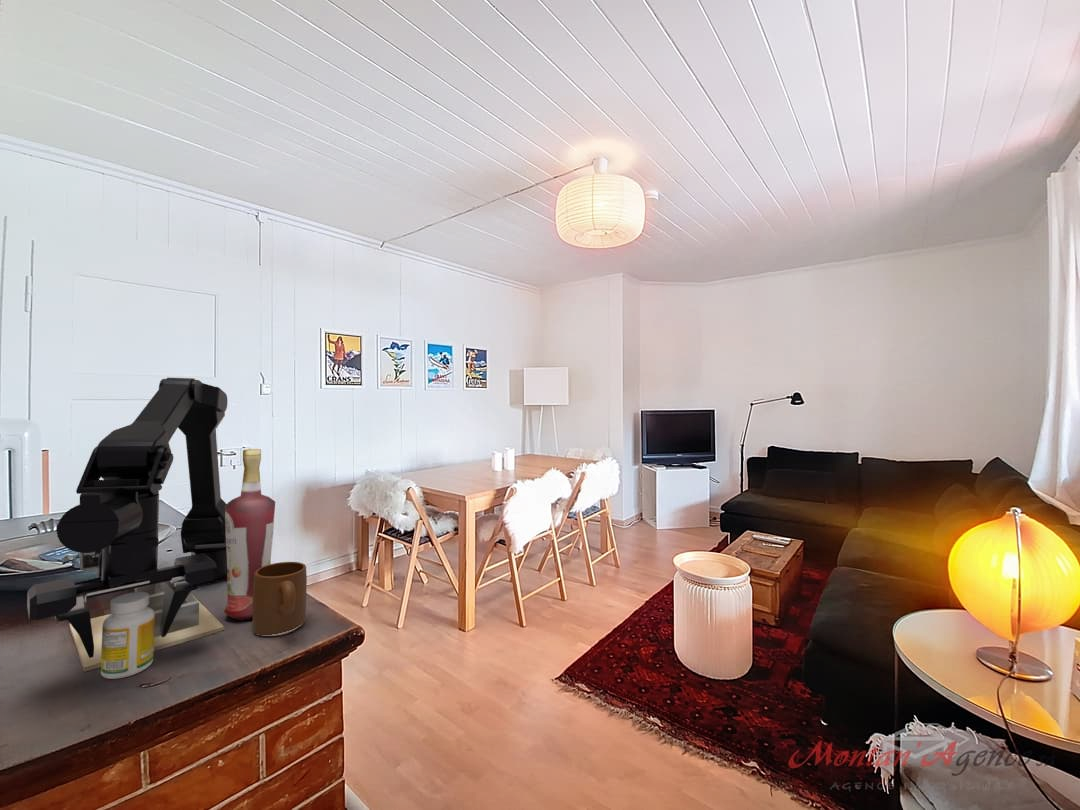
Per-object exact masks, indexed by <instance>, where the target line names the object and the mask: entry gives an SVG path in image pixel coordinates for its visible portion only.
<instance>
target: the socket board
mask: <svg viewBox="0 0 1080 810" xmlns="http://www.w3.org/2000/svg"><path fill="white" fill-rule="evenodd" d="M147 579H149V578H147ZM142 580H144V579H142ZM137 581H139V580H137ZM133 589H134V592H146V593H148V594H149V604H148V606H147V607H149V608H151V609H153V611H154V613H155V623H154V650H153V652H156V651H159V650H163V649H166V648H169V647H173V646H176V645H180V644H183V643H187V642H190V641H193V640H197V639H201V638H202V637H203V636H204V637H207V636H210V635H213V633H214V634H217V633H220V632H223V631H222V630H225V626H224V625H223V624H222V623H221V622H220V621H219V620H218V619H217V618H216V617H215V616H214V615H213V614H212V613H211V612H210V611H209V610H208V609H207V608H206V607H205V606H204V605H203V604H202V602H200V600H198V599H197V597H195V596H194V595H193V594H191V592H190V593H189V595H188V596H187V598H186V599H185V601H184V602H183V604H182V606H181V607H180V609H179V611H178V612H177V614H176V616H175V618H174V620H173V622H172V625H171V627H170V629H169V631H168V633H167V635H166V636H165V637H161V633H160V623H161V616H162V609H163V601H164V591H163V592H157V593H156V584H152V585H147V586H142V587H138V588H133ZM134 592H133V593H134ZM110 614H111V613H110ZM110 614H109V613H108V614H106V615H101V616H97V617H93V618H90V619H91V627H92V634H93V641H94V656H93V657H92V658H89V656H88V654H87V652H86V650H85V647H84V645H83V643H82V641H81V638H80V636H79V634H78V633H77V632H76V630H75V629H74V628H73V626H72V625H71V624H70V623H69V630H70V634H71V637H72V639H73V642H74V645H75V648H76V651H77V654H78V657H79V660H80V663H81V666H82V669H83V672H84V673H85V672H89V671H92V670H94V669H100V668H101V654H102V626H103V622H104V620H105V619H106V618H107V617H108V616H109V615H110ZM219 631H220V632H219ZM206 635H207V636H206ZM204 637H203V638H204Z"/></svg>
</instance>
